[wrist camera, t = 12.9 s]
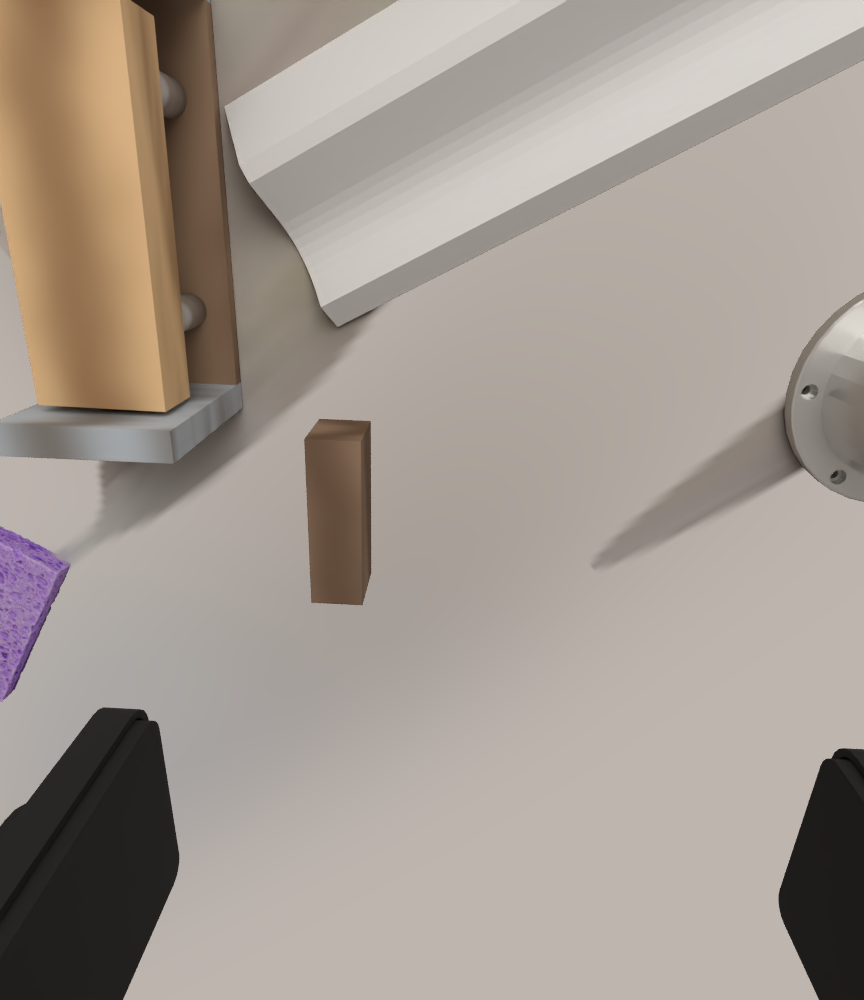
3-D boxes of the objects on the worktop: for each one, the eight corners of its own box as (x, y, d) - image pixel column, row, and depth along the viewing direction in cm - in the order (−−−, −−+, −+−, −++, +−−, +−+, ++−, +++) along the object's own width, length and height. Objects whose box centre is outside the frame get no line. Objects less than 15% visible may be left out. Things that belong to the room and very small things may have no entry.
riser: (370, 421, 39) (360, 441, 35) (371, 572, 43) (362, 604, 39) (319, 419, 39) (304, 439, 35) (324, 570, 43) (311, 602, 39)
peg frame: (207, -35, 31) (98, -148, 22) (242, 407, 39) (173, 463, 30) (38, -39, 31) (-142, -152, 22) (107, 401, 39) (-3, 455, 30)
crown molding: (339, 321, 37) (326, 331, 34) (225, 102, 34) (198, 88, 30) (920, 25, 31) (976, 1, 28) (862, -288, 27) (918, -360, 24)
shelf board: (153, 16, 27) (119, -8, 25) (190, 396, 34) (165, 412, 31) (11, 10, 28) (-40, -14, 25) (73, 390, 34) (38, 405, 31)
